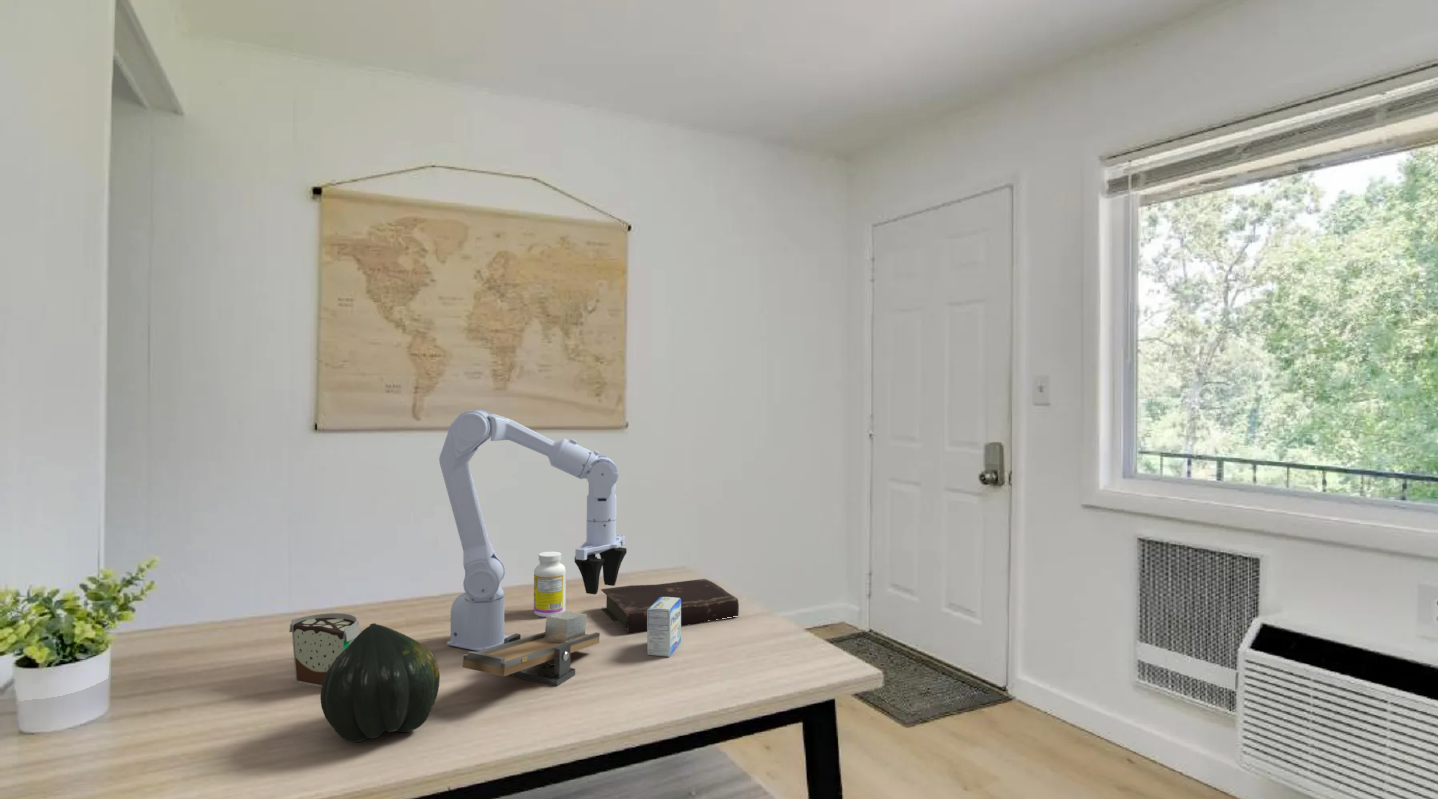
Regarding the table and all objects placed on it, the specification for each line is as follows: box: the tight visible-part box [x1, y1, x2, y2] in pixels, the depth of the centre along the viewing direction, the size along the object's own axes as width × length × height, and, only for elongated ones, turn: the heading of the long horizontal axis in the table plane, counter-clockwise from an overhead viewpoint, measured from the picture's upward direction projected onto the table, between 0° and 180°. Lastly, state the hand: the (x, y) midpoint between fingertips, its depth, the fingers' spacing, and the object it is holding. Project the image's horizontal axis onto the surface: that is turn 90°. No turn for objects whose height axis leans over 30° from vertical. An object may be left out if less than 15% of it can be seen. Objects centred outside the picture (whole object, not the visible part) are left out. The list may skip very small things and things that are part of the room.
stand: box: [504, 633, 576, 687], centre depth 118 cm, size 12×5×6 cm, turn 67°
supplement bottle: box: [533, 550, 567, 618], centre depth 150 cm, size 7×7×13 cm
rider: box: [544, 610, 587, 643], centre depth 125 cm, size 4×6×4 cm
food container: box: [288, 612, 362, 688], centre depth 115 cm, size 12×6×10 cm, turn 71°
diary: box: [600, 578, 740, 635], centre depth 151 cm, size 19×25×5 cm
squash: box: [319, 622, 441, 743], centre depth 99 cm, size 14×15×15 cm
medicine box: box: [646, 597, 682, 658], centre depth 130 cm, size 8×4×9 cm, turn 168°
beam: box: [462, 631, 601, 677], centre depth 118 cm, size 8×26×2 cm, turn 157°
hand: (600, 589), depth 136 cm, fingers open, 6 cm apart
